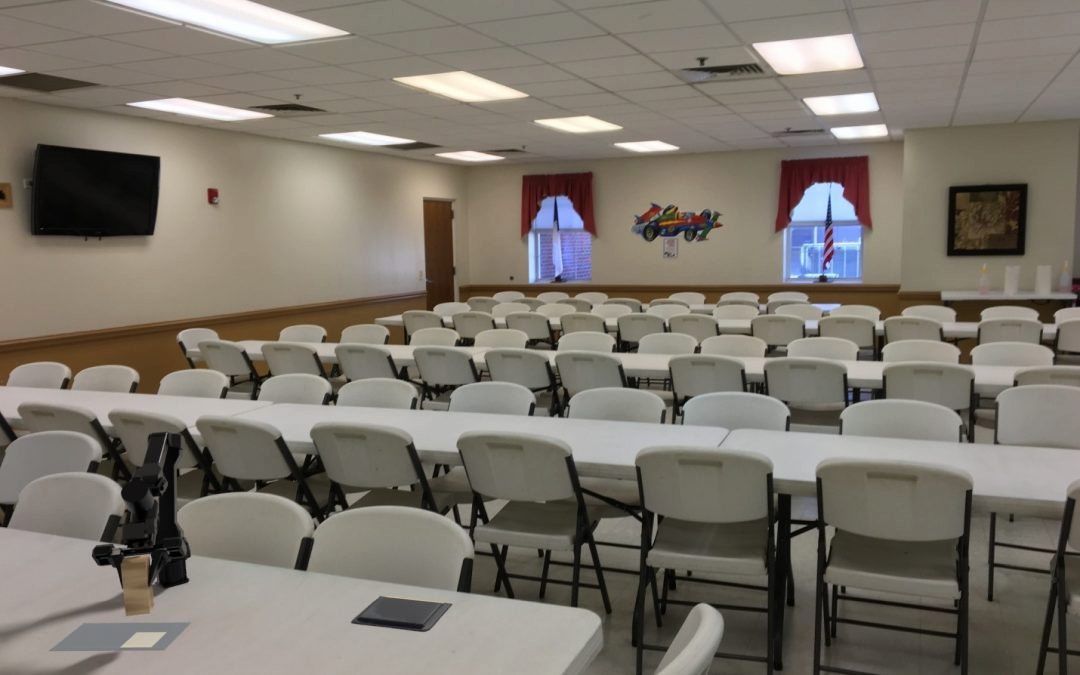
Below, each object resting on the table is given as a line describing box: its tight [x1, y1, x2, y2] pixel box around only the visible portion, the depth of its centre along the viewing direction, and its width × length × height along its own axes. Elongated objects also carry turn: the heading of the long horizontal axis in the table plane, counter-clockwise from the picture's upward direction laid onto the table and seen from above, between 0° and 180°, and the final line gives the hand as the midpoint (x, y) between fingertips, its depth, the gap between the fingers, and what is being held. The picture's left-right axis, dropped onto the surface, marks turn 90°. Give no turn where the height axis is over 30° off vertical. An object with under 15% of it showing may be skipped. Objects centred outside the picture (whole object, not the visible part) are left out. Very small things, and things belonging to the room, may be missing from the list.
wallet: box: [350, 595, 453, 633], centre depth 198 cm, size 20×2×15 cm
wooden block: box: [121, 554, 155, 617], centre depth 185 cm, size 4×5×12 cm
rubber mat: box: [48, 621, 192, 652], centre depth 189 cm, size 26×13×1 cm, turn 87°
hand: (136, 587), depth 184 cm, fingers closed on wooden block, 5 cm apart
